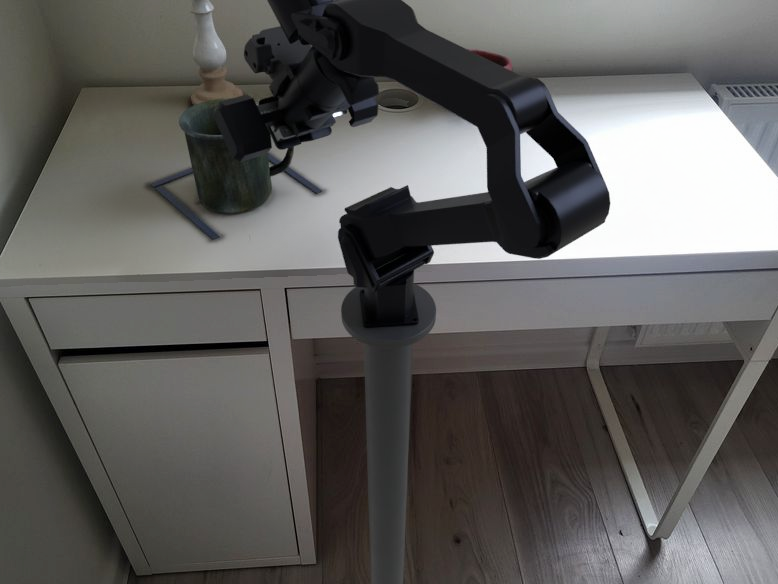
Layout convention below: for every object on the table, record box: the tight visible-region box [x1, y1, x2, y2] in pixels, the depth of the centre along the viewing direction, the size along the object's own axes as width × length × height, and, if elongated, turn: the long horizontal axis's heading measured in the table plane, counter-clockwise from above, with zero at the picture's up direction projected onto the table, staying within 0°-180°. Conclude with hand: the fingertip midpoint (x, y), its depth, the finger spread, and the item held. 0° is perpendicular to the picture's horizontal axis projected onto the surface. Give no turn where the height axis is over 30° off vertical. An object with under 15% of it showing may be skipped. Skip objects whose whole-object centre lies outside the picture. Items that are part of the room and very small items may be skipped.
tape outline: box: [149, 152, 323, 241], centre depth 102 cm, size 18×18×1 cm
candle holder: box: [188, 0, 244, 106], centre depth 115 cm, size 9×9×20 cm
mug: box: [178, 98, 295, 214], centre depth 97 cm, size 11×15×12 cm
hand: (277, 142), depth 87 cm, fingers closed
